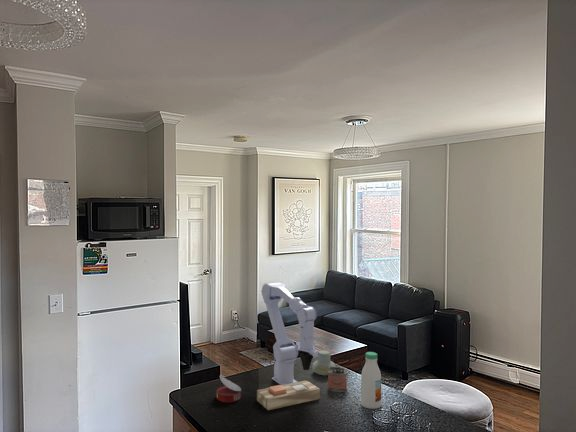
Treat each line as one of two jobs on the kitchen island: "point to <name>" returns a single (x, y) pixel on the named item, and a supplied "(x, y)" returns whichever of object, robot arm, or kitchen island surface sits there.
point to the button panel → (288, 396)
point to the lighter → (337, 379)
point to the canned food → (228, 391)
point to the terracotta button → (277, 390)
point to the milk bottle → (371, 382)
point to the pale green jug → (323, 363)
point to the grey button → (299, 387)
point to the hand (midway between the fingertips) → (306, 369)
